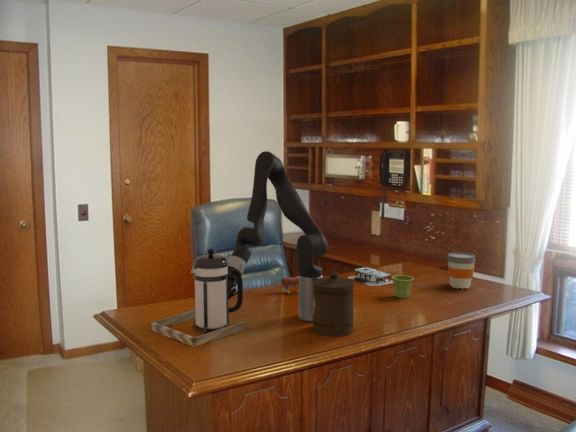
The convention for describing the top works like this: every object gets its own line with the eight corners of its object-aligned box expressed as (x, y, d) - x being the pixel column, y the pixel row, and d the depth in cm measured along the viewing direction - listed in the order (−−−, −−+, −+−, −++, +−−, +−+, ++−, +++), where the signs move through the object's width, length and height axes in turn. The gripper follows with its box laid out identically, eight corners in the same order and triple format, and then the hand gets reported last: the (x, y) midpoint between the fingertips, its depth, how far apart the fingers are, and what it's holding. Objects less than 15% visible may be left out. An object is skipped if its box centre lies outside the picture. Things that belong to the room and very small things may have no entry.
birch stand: (246, 329, 213) (245, 321, 212) (194, 347, 195) (193, 339, 195) (201, 315, 230) (201, 307, 229) (150, 330, 212) (150, 322, 212)
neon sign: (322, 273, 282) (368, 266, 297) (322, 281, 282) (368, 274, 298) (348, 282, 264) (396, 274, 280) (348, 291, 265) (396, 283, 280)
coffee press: (225, 337, 205) (223, 254, 200) (184, 332, 210) (182, 251, 205) (243, 322, 221) (242, 245, 217) (205, 318, 226) (204, 242, 222)
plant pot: (411, 294, 260) (412, 275, 259) (414, 300, 251) (414, 280, 249) (390, 293, 261) (391, 274, 260) (392, 299, 252) (392, 280, 250)
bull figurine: (310, 294, 260) (310, 276, 258) (280, 293, 260) (280, 276, 259) (310, 291, 264) (310, 274, 263) (281, 291, 264) (281, 273, 263)
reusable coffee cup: (440, 284, 276) (442, 253, 274) (461, 281, 282) (462, 251, 279) (458, 290, 265) (460, 259, 263) (479, 287, 270) (481, 256, 268)
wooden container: (328, 320, 223) (328, 265, 220) (360, 329, 214) (362, 271, 211) (304, 330, 212) (305, 272, 209) (338, 340, 202) (339, 279, 199)
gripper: (216, 262, 229) (196, 300, 220) (242, 267, 222) (223, 306, 213) (224, 273, 234) (205, 310, 226) (251, 277, 227) (232, 316, 219)
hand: (214, 308), depth 220 cm, fingers closed
